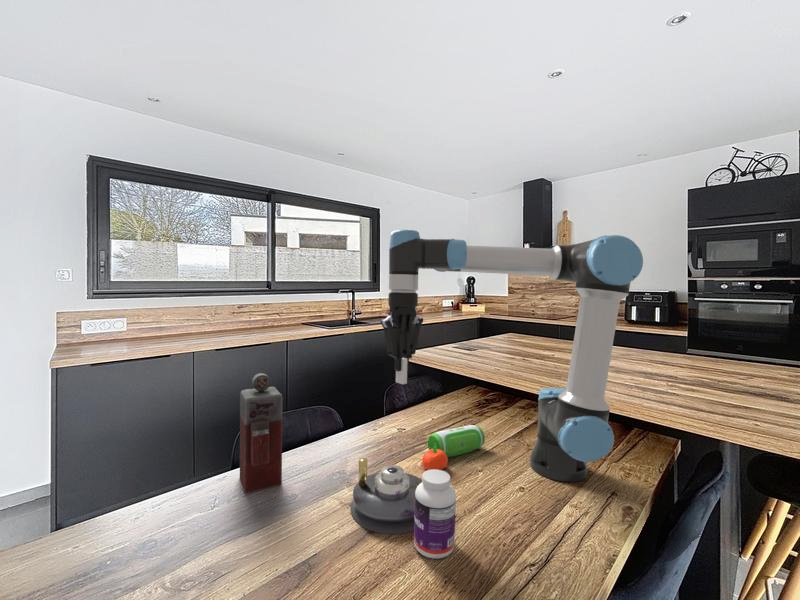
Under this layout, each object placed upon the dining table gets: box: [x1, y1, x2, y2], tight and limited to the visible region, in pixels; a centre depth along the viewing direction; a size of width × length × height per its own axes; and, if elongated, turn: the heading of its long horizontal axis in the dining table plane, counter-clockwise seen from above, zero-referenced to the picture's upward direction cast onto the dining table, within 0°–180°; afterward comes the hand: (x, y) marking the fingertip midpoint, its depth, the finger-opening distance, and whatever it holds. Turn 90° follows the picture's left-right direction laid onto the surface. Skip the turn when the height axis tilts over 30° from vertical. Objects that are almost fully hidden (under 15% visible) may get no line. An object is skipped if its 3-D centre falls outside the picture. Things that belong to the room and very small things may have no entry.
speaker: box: [427, 424, 486, 458], centre depth 117 cm, size 18×7×8 cm, turn 120°
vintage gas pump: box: [239, 372, 284, 494], centre depth 97 cm, size 9×11×28 cm
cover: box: [375, 464, 409, 502], centre depth 87 cm, size 8×8×5 cm
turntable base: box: [350, 500, 414, 535], centre depth 88 cm, size 19×19×2 cm
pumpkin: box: [421, 446, 449, 471], centre depth 106 cm, size 7×8×6 cm
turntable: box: [352, 457, 422, 524], centre depth 88 cm, size 18×18×8 cm
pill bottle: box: [413, 469, 457, 560], centre depth 75 cm, size 8×8×14 cm
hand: (401, 382), depth 98 cm, fingers closed
